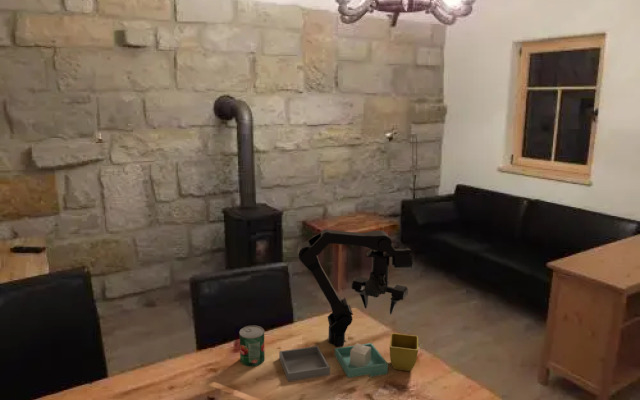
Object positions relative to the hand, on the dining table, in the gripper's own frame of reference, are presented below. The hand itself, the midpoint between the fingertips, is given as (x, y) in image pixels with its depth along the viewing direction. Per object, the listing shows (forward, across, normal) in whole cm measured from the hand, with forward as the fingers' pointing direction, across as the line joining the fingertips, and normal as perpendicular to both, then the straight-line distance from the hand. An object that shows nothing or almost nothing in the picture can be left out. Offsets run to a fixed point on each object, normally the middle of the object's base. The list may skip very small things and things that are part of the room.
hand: (378, 310), depth 163 cm
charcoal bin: (+12, -14, -27) cm, 33 cm away
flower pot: (+12, +13, -10) cm, 20 cm away
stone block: (+11, +1, -16) cm, 20 cm away
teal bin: (+12, +1, -16) cm, 20 cm away
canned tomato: (+12, -30, -32) cm, 46 cm away
